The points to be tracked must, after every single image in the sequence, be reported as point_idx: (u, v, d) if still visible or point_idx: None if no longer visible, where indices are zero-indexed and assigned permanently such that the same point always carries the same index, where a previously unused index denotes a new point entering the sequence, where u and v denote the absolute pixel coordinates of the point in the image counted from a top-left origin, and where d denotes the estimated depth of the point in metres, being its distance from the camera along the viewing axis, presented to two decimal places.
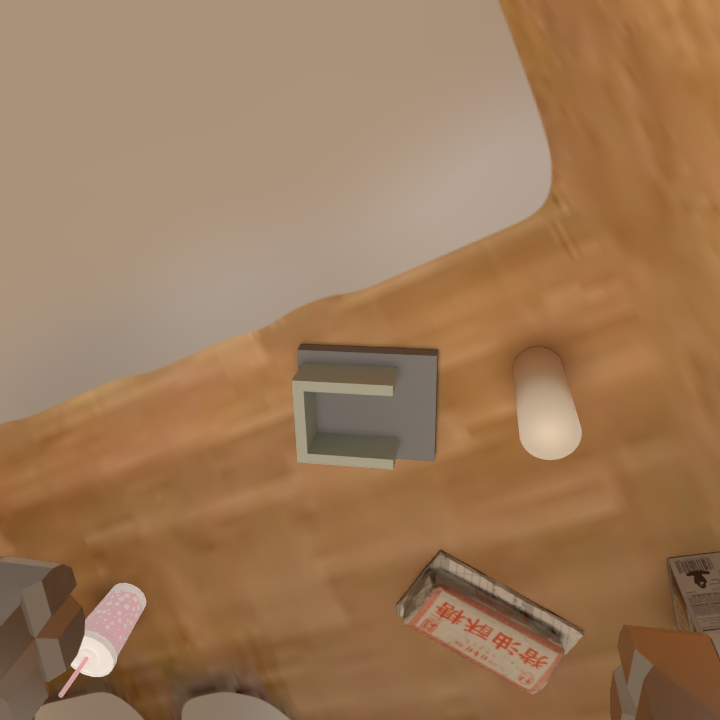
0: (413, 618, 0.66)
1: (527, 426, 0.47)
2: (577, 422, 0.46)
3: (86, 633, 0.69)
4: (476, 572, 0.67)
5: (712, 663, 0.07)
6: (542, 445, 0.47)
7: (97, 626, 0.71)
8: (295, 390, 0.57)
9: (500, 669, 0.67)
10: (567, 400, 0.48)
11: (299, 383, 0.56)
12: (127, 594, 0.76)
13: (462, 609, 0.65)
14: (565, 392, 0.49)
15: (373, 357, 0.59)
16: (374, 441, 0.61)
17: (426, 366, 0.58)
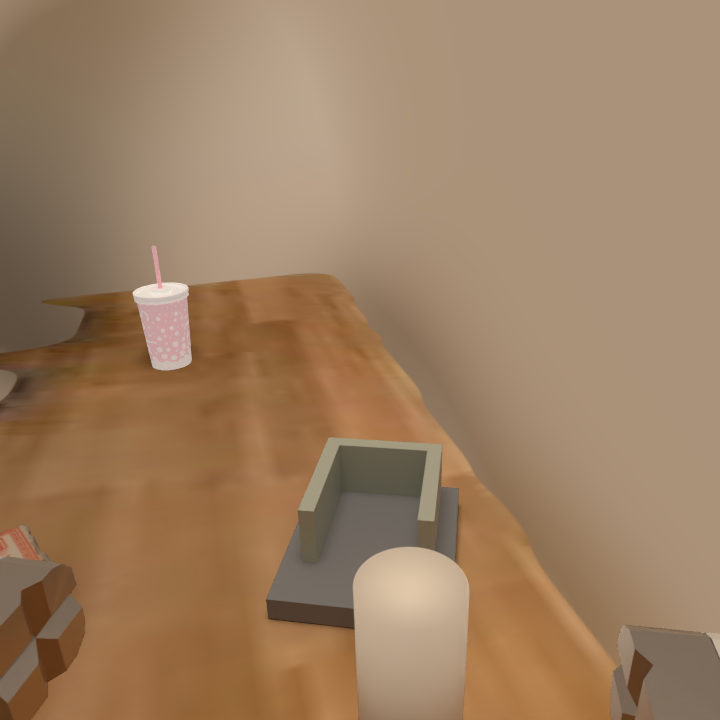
0: (22, 534, 0.40)
1: (427, 556, 0.26)
2: (436, 624, 0.22)
3: (184, 294, 0.72)
4: None
5: (712, 663, 0.07)
6: (386, 573, 0.25)
7: (181, 307, 0.72)
8: (428, 446, 0.46)
9: None
10: (454, 660, 0.24)
11: (438, 449, 0.46)
12: (182, 354, 0.74)
13: None
14: (453, 688, 0.24)
15: (449, 551, 0.42)
16: (323, 529, 0.42)
17: None
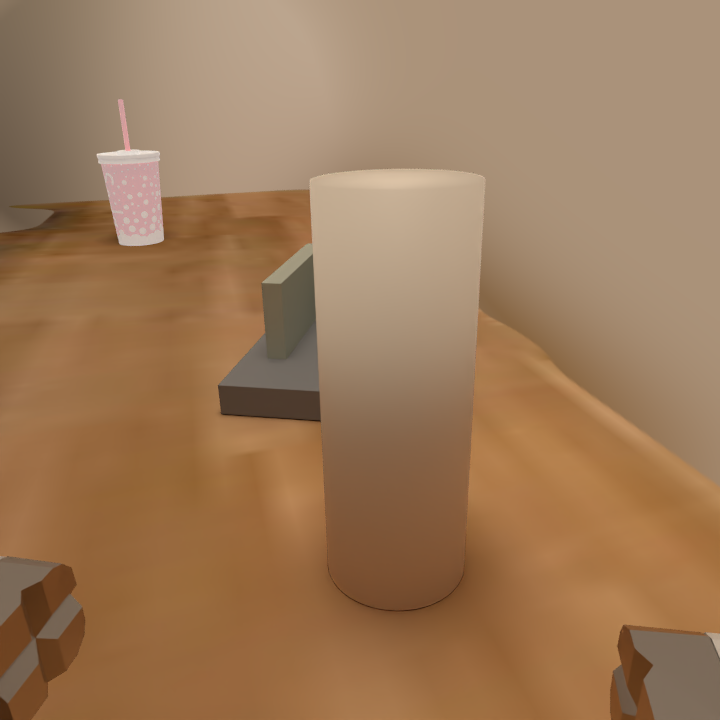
0: None
1: (422, 170, 0.18)
2: (435, 188, 0.14)
3: (155, 157, 0.64)
4: None
5: (712, 663, 0.07)
6: (361, 176, 0.17)
7: (151, 172, 0.64)
8: None
9: None
10: (462, 277, 0.15)
11: None
12: (153, 228, 0.66)
13: None
14: (459, 333, 0.16)
15: None
16: (296, 326, 0.34)
17: None
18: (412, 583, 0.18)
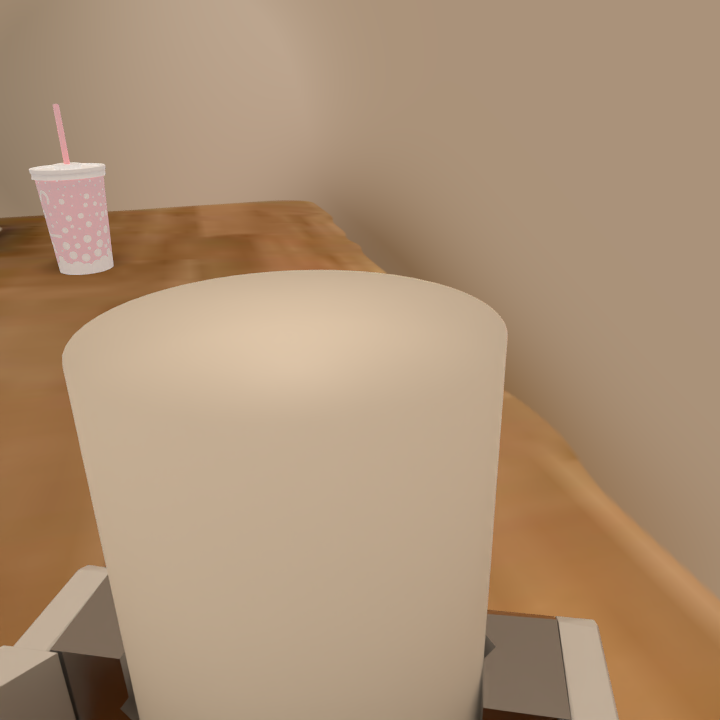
0: None
1: (366, 281, 0.08)
2: (366, 409, 0.05)
3: (98, 171, 0.55)
4: None
5: (552, 644, 0.08)
6: (218, 306, 0.07)
7: (94, 189, 0.55)
8: None
9: None
10: (449, 595, 0.06)
11: None
12: (98, 254, 0.57)
13: None
14: (443, 705, 0.07)
15: None
16: None
17: None
18: None
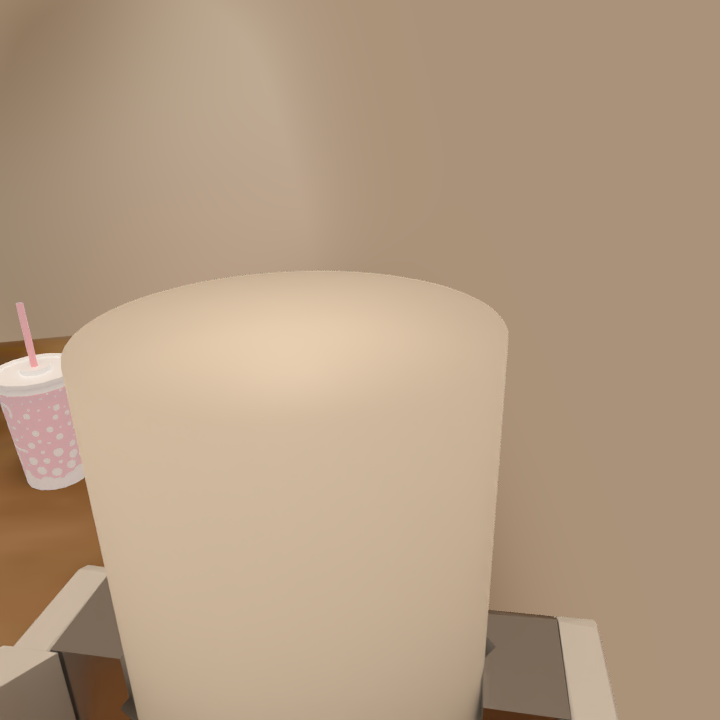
0: None
1: (366, 282, 0.08)
2: (366, 411, 0.05)
3: None
4: None
5: (552, 645, 0.08)
6: (217, 307, 0.07)
7: (66, 396, 0.46)
8: None
9: None
10: (450, 598, 0.06)
11: None
12: (72, 465, 0.48)
13: None
14: (444, 708, 0.07)
15: None
16: None
17: None
18: None
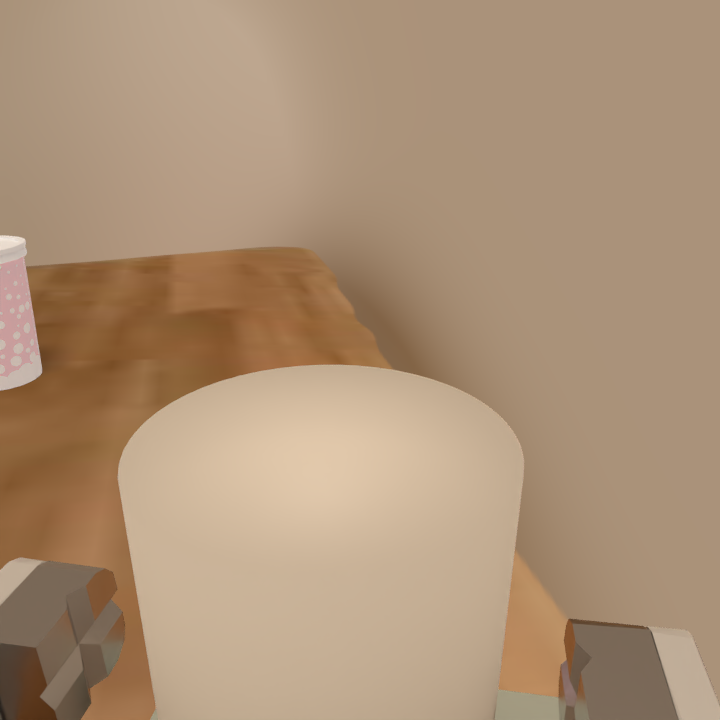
0: None
1: (388, 383, 0.09)
2: (402, 557, 0.05)
3: (13, 253, 0.39)
4: None
5: (650, 656, 0.08)
6: (253, 414, 0.08)
7: (8, 277, 0.39)
8: (519, 707, 0.13)
9: None
10: (467, 702, 0.07)
11: None
12: (17, 363, 0.41)
13: None
14: None
15: None
16: None
17: None
18: None
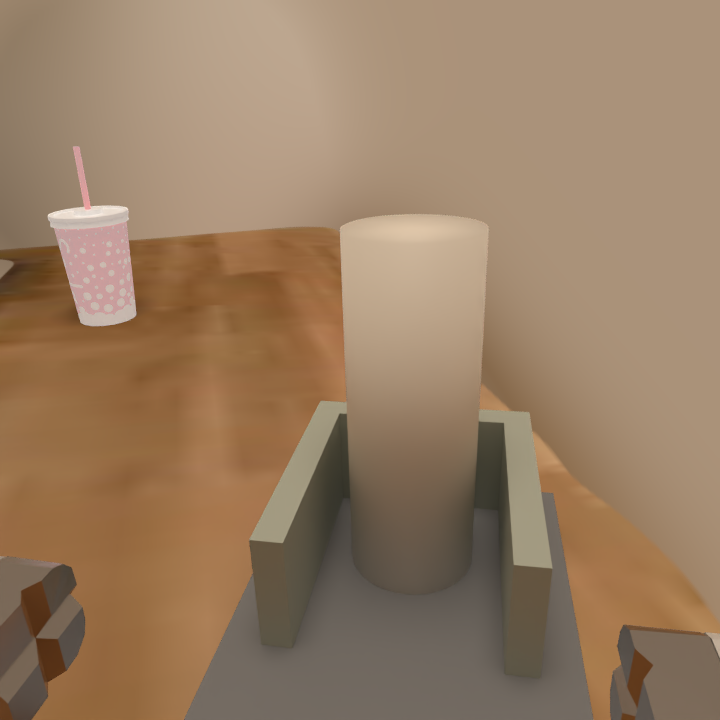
0: None
1: (434, 217, 0.20)
2: (447, 240, 0.17)
3: (122, 217, 0.51)
4: None
5: (712, 663, 0.07)
6: (382, 224, 0.20)
7: (117, 236, 0.51)
8: (503, 416, 0.25)
9: None
10: (470, 312, 0.18)
11: (523, 420, 0.24)
12: (121, 304, 0.53)
13: None
14: (467, 358, 0.19)
15: (562, 621, 0.20)
16: (307, 573, 0.21)
17: None
18: (427, 570, 0.21)
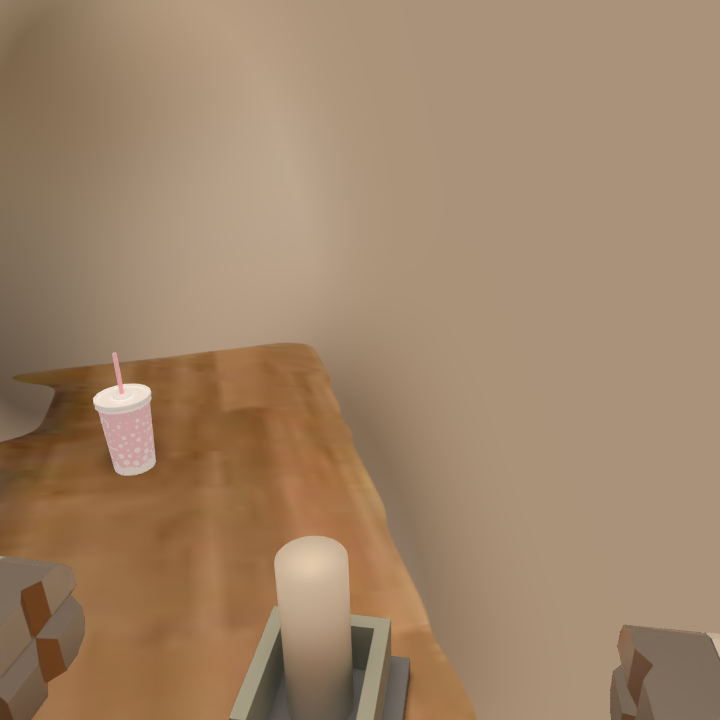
0: None
1: (325, 542, 0.40)
2: (322, 582, 0.36)
3: (146, 400, 0.70)
4: None
5: (712, 663, 0.07)
6: (297, 552, 0.39)
7: (143, 413, 0.70)
8: (376, 621, 0.44)
9: None
10: (337, 606, 0.38)
11: (385, 626, 0.44)
12: (145, 459, 0.72)
13: None
14: (337, 625, 0.38)
15: None
16: None
17: None
18: None
